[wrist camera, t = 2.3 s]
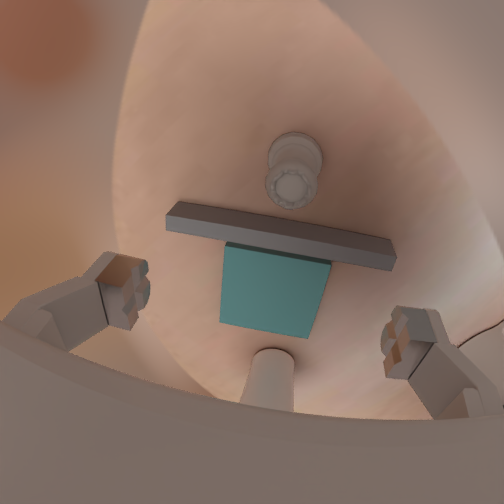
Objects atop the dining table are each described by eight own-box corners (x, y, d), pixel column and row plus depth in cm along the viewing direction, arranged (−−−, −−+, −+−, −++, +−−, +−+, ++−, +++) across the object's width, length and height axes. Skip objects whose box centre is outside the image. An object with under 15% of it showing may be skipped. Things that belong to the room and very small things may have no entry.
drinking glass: (281, 381, 41) (265, 482, 28) (237, 361, 40) (210, 465, 27) (311, 357, 37) (303, 470, 24) (265, 334, 36) (241, 451, 23)
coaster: (331, 259, 29) (331, 265, 29) (308, 332, 35) (308, 338, 34) (227, 240, 30) (224, 245, 29) (221, 316, 36) (219, 322, 35)
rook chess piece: (306, 121, 23) (306, 140, 17) (331, 169, 25) (340, 206, 18) (258, 146, 25) (239, 174, 18) (284, 191, 27) (275, 234, 20)
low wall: (390, 239, 27) (397, 257, 25) (385, 253, 28) (391, 271, 26) (178, 201, 29) (165, 215, 26) (178, 215, 30) (166, 230, 27)
